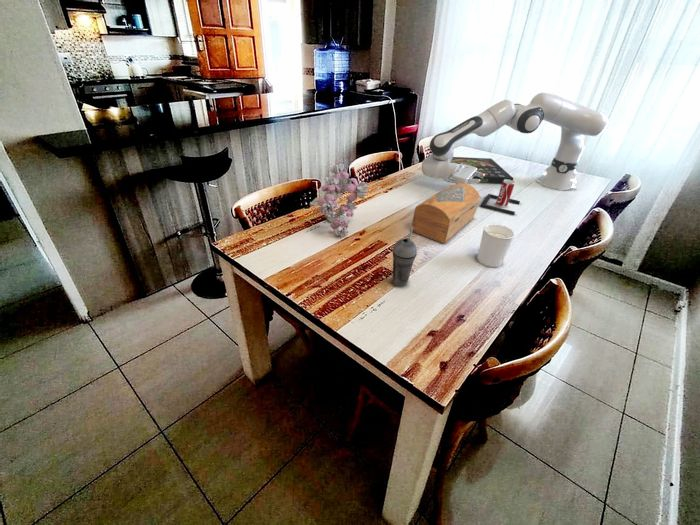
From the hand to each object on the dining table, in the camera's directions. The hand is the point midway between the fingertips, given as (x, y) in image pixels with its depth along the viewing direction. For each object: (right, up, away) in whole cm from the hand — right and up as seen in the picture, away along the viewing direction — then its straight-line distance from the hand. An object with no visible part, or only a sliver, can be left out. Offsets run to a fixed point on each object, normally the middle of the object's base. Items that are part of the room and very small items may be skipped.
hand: (481, 178), depth 155 cm
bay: (+9, -12, +1) cm, 15 cm away
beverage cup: (-47, -46, -52) cm, 84 cm away
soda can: (+10, -13, +1) cm, 16 cm away
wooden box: (-24, -24, -18) cm, 38 cm away
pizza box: (+9, +14, +39) cm, 42 cm away
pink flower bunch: (-67, -27, -24) cm, 76 cm away
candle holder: (-13, -39, -39) cm, 57 cm away
